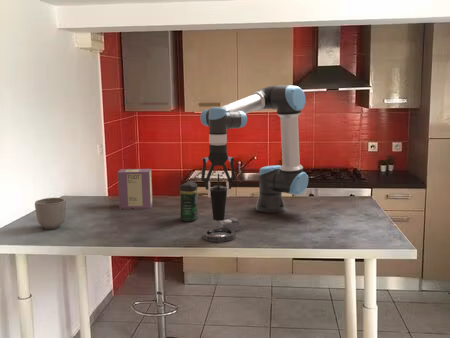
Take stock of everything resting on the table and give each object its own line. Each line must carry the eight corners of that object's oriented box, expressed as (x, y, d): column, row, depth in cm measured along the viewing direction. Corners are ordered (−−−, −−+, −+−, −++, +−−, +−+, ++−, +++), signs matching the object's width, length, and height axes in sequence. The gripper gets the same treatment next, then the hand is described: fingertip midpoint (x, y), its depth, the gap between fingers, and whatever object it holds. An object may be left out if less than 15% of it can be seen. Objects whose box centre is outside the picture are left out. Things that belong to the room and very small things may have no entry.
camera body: (234, 227, 245) (234, 217, 244) (239, 231, 240) (239, 220, 239) (218, 229, 242) (218, 219, 242) (223, 233, 237) (223, 222, 236)
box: (152, 204, 291) (151, 168, 287) (150, 208, 282) (149, 171, 278) (122, 204, 290) (120, 169, 287) (119, 209, 281) (117, 172, 278)
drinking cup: (209, 217, 232) (209, 172, 228) (226, 216, 232) (226, 172, 229) (210, 221, 224) (210, 175, 221) (228, 221, 225) (228, 175, 221)
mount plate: (233, 231, 238) (233, 227, 237) (237, 241, 224) (237, 236, 223) (202, 233, 236) (202, 228, 236) (204, 242, 223) (204, 237, 222)
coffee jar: (194, 222, 254) (193, 184, 250) (178, 221, 255) (177, 184, 252) (199, 217, 263) (199, 180, 260) (184, 216, 265) (183, 180, 261)
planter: (39, 233, 239) (37, 205, 237) (34, 226, 251) (32, 199, 249) (70, 229, 245) (68, 202, 243) (64, 222, 257) (62, 196, 255)
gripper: (240, 142, 227) (240, 194, 231) (193, 143, 225) (194, 195, 229) (242, 144, 220) (242, 197, 224) (194, 145, 218) (195, 199, 222)
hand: (218, 196), depth 227 cm, fingers closed on drinking cup, 7 cm apart
